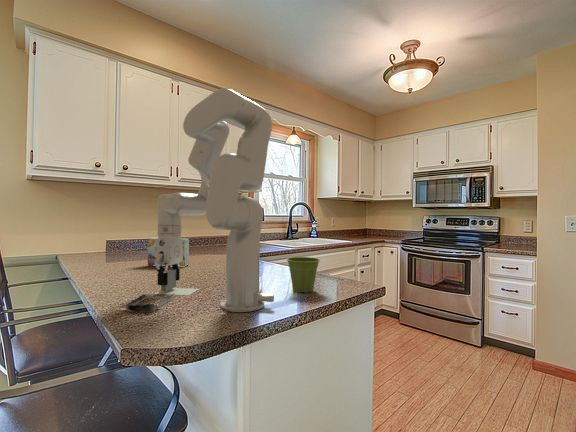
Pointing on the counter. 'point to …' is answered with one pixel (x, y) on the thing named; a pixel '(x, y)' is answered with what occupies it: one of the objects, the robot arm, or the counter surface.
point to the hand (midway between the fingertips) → (168, 282)
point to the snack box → (153, 248)
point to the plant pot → (303, 273)
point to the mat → (178, 291)
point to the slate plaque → (170, 280)
